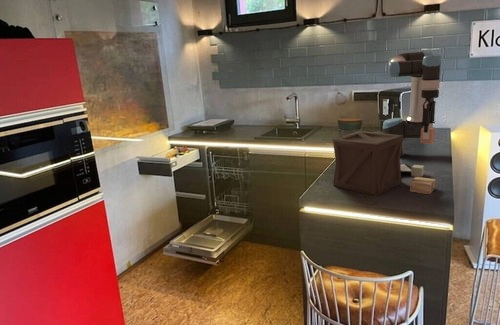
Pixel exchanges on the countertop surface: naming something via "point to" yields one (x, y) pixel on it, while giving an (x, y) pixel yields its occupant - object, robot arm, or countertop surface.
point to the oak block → (422, 185)
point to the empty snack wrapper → (405, 168)
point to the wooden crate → (368, 162)
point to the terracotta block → (431, 136)
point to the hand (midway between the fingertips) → (427, 137)
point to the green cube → (417, 170)
